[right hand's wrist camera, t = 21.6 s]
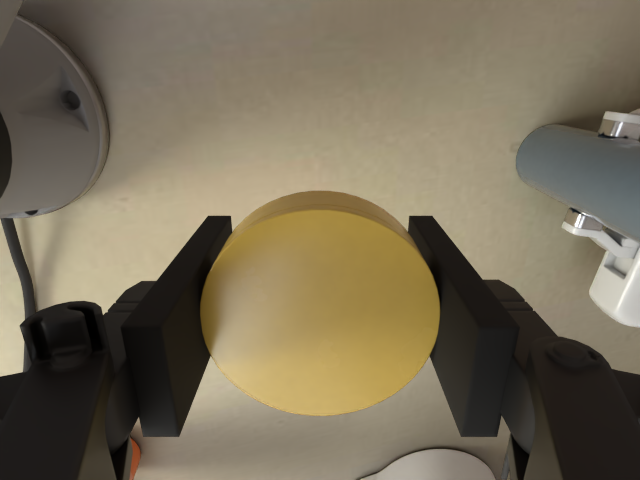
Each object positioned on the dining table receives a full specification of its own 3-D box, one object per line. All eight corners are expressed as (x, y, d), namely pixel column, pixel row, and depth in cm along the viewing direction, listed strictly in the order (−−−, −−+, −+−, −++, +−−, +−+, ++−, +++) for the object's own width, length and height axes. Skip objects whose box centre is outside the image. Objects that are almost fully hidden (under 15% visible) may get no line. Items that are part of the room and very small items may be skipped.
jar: (595, 146, 34) (819, 205, 19) (549, 199, 35) (721, 293, 20) (546, 111, 32) (741, 142, 17) (502, 167, 34) (645, 241, 19)
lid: (217, 371, 13) (204, 410, 11) (211, 183, 11) (193, 200, 9) (409, 381, 13) (421, 421, 11) (442, 197, 11) (461, 217, 9)
